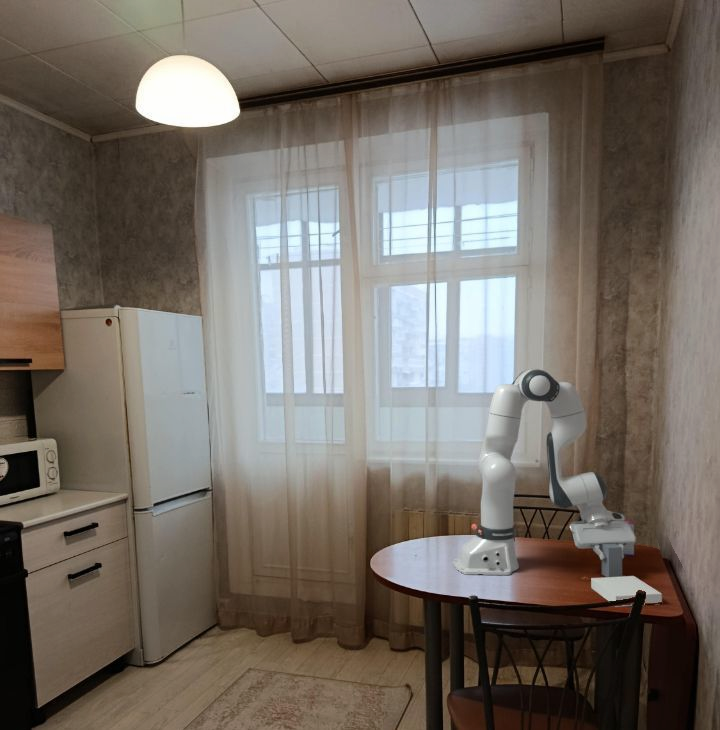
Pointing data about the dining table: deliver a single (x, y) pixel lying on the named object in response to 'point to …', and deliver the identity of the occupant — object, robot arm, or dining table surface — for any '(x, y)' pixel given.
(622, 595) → the plinth
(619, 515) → the robot arm
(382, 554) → the dining table surface
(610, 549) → the grey rectangular block
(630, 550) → the supplement box
